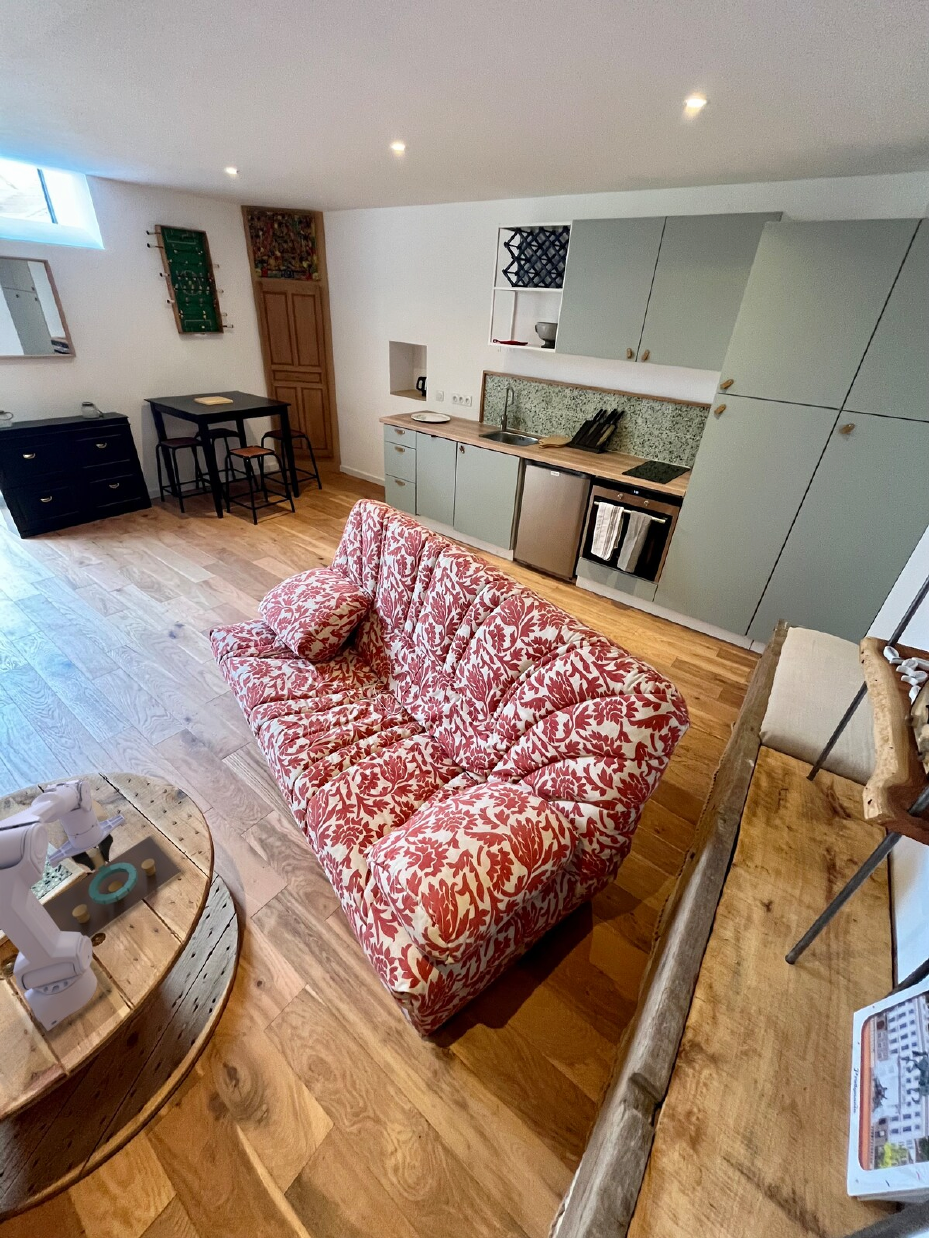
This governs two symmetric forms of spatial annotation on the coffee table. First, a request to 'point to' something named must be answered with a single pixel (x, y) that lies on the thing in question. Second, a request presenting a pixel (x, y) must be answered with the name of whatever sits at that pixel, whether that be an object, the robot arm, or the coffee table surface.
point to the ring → (105, 872)
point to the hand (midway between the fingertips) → (98, 862)
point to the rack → (111, 890)
